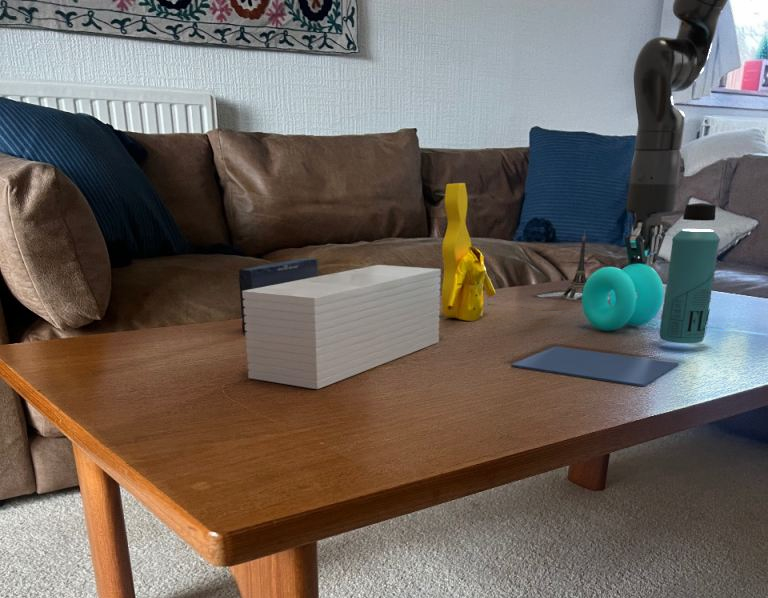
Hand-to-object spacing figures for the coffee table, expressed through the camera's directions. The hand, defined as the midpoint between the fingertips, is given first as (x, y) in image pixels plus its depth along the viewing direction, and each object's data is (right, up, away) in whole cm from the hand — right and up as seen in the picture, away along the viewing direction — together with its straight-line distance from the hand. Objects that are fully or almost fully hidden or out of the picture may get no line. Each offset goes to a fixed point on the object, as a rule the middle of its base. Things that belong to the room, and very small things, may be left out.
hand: (638, 290), depth 134 cm
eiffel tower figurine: (-4, +5, +23) cm, 24 cm away
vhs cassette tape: (-61, -6, -2) cm, 61 cm away
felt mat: (-15, -18, -28) cm, 37 cm away
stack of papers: (-48, -17, -25) cm, 57 cm away
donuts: (-5, -7, -4) cm, 10 cm away
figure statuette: (-30, -4, +5) cm, 30 cm away
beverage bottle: (0, -14, -19) cm, 23 cm away
